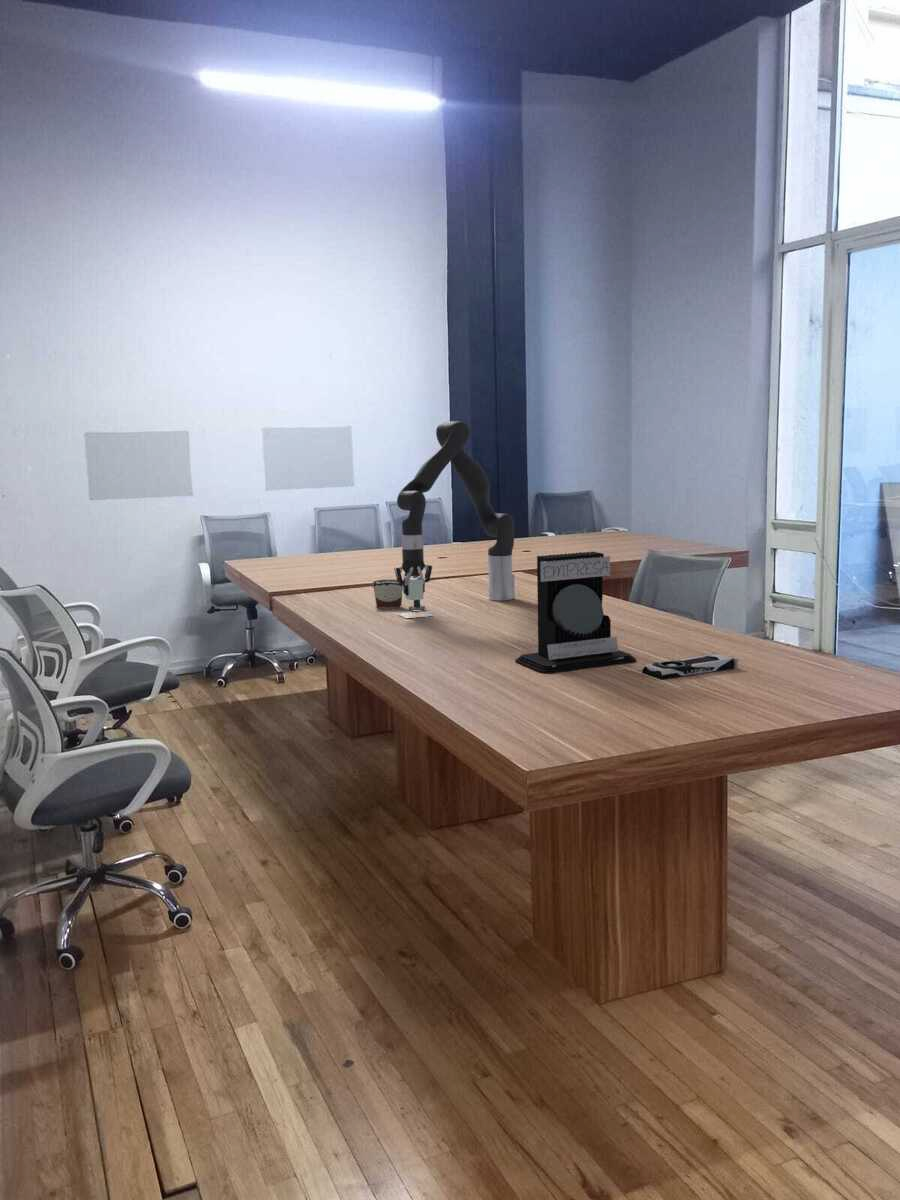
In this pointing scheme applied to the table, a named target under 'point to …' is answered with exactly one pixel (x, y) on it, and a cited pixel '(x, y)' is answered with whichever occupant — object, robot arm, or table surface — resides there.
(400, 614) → the pad
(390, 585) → the food container
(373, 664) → the table surface
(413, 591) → the green block
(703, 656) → the graphics card
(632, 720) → the table surface
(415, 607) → the metal post
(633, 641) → the table surface
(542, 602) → the award
